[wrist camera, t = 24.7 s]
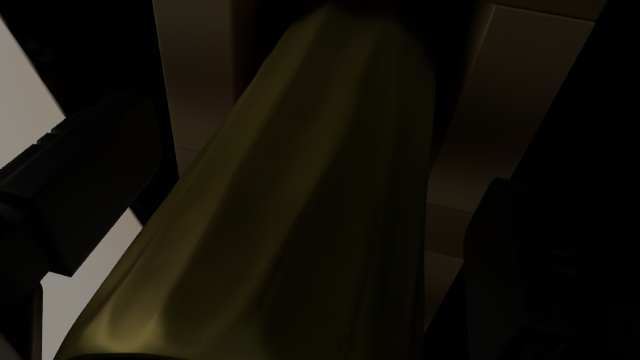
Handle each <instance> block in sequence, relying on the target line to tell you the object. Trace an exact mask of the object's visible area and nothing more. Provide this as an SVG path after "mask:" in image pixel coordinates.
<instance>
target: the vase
mask: <svg viewBox="0 0 640 360" xmlns="http://www.w3.org/2000/svg"><path fill="white" fill-rule="evenodd" d="M441 55H442V33H441V27H440V22H439V19H438V16H437V13H436V11H435V9H434V7H433V5H432V3H431V2H430V0H297V2H296V3H295V5H294V7H293V9H292V10H291V13H290V16H289V19H288V21H287V23H286V25H285V27H284V29H283V31H282V32H281V34H280V36H279V37H278V39H277V40H276V42H275V43H274V45H273V47H272V48H271V50H270V51H269V53H268V55H267V56H266V58H265V60H264V62H263V63H262V65H261V67H260V69H259V71H258V72H257V74H256V76H255V77H254V79H253V81H252V82H251V83H250V85H249V86H248V87H247V89H246V90H245V91H244V93H243V94H242V96H241V97H240V98H239V100H238V101H237V102H236V104H235V105H234V106H233V108H232V109H231V111H230V112H229V113H228V115H227V116H226V118H225V119H224V120H223V122H222V123H221V125H220V126H219V127H218V129H217V130H216V131H215V133H214V134H213V135H212V136H211V138H210V139H209V140H208V141H207V143H206V144H205V145H204V147H203V148H202V149H201V151H200V152H199V154H198V155H197V156H196V158H195V159H194V160H193V162H192V163H191V164H190V166H189V167H188V169H187V170H186V171H185V173H184V174H183V175H182V177H181V178H180V179H179V181H178V182H177V183H176V185H175V186H174V187H173V189H172V190H171V192H170V193H169V194H168V196H167V197H166V198H165V200H164V201H163V202H162V204H161V205H160V206H159V208H158V209H157V210H156V212H155V213H154V214H153V215H152V217H151V218H150V219H149V221H148V222H147V223H146V225H145V226H144V227H143V228H142V230H141V231H140V232H139V234H138V235H137V236H136V238H135V239H134V240H133V242H132V243H131V244H130V246H129V247H128V248H127V250H126V251H125V253H124V254H123V255H122V257H121V258H120V260H119V261H118V262H117V264H116V265H115V267H114V268H113V269H112V271H111V272H110V273H109V275H108V276H107V278H106V279H105V280H104V282H103V283H102V284H101V286H100V287H99V289H98V290H97V291H96V293H95V294H94V296H93V297H92V298H91V300H90V301H89V303H88V304H87V305H86V307H85V308H84V309H83V311H82V312H81V313H80V315H79V316H78V318H77V319H76V321H75V322H74V324H73V325H72V327H71V329H70V330H69V332H68V333H67V335H66V337H65V338H64V340H63V342H62V344H61V346H60V348H59V350H58V351H57V353H56V355H55V357H54V359H53V360H422V352H423V340H424V315H425V280H424V239H425V217H426V203H427V190H428V176H429V163H430V152H431V142H432V132H433V122H434V112H435V102H436V82H437V68H438V66H439V63H440V59H441Z"/></svg>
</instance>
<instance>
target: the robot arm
mask: <svg viewBox="0 0 640 360" xmlns="http://www.w3.org/2000/svg"><path fill="white" fill-rule="evenodd" d="M161 158H162V148H161V143H160V137H159V132H158V126H157V121H156V115H155V110H154V105H153V103H152V101H151V100H150V99H149V98H146V97H142V96H138V95H133V94H129V93H124V92H120V91H114V92H112V93H111V94H109V95H108V96H107V97H106V98H104V99H103V100H102V101H101V102H99V103H98V104H97V105H96V106H94V107H89V108H87V109H85V110H82V111H80V112H77V113H75V114H73V115H70V116H68V117H67V118H65V119H64V120H63V121H62V122H60V123H59V124H58V125H57V126H55V127H54V128H53V129H51V133H46V134H45V135H44V136H43V137H41V138H40V139H39V140H37V144H32V145H31V146H30V147H28V148H27V149H26V150H24V151H23V152H22V153H21V154H19V155H18V156H17V157H16V158H14V159H13V160H12V161H11V162H9V163H8V164H7V165H5V166H4V167H3V168H2V169H0V360H42V315H43V287H42V285H41V283H40V281H41V280H42V279H43V277H44V276H45V275H46V274H47V273H48V272H53V273H57V274H60V275H64V276H68V277H72V276H73V274H74V273H75V272H76V271H77V270H78V268H79V267H80V266H81V265H82V263H83V262H84V261H85V260H86V258H87V257H88V256H89V254H91V252H92V251H93V250H94V249H95V247H96V246H97V245H98V244H99V243H100V241H101V240H102V239H103V238H104V236H105V235H106V234H107V233H108V232H109V230H110V229H111V228H112V227H113V225H114V224H115V223H116V222H117V221H118V219H119V218H120V217H121V216H122V214H123V213H124V212H125V211H126V210H127V208H128V207H129V206H130V205H131V203H132V202H133V201H134V200H135V199H136V197H137V196H138V195H139V194H140V192H141V191H142V190H143V189H144V187H145V186H146V185H147V184H148V183H149V181H150V180H151V179H152V178H153V176H154V175H155V174H156V172H157V171H158V168H159V166H160V163H161ZM463 256H464V273H465V290H466V307H467V324H468V342H469V359H470V360H618V359H617V358H616V357H615V356H613V355H612V354H610V353H609V352H607V351H605V350H604V347H603V344H602V341H601V338H600V335H599V332H598V329H597V325H596V322H595V319H594V316H593V313H592V310H591V306H590V303H589V300H588V297H587V294H586V291H585V287H584V284H583V281H582V278H581V277H579V273H580V272H579V269H578V265H577V262H576V259H573V257H574V253H573V250H572V246H571V243H570V240H569V237H568V234H567V233H566V231H565V230H564V229H563V227H562V226H561V225H560V224H559V222H558V221H557V220H556V218H555V217H554V216H553V215H552V214H551V213H547V212H542V211H540V207H539V203H538V200H537V196H536V192H535V189H534V187H533V186H532V185H529V184H525V183H520V182H516V181H511V180H507V179H502V178H498V177H496V178H494V179H493V180H492V181H491V183H490V184H489V186H488V188H487V190H486V192H485V194H484V196H483V198H482V199H481V201H480V203H479V205H478V207H477V209H476V211H475V213H474V214H473V216H472V218H471V220H470V222H469V224H468V226H467V229H466V233H465V237H464V243H463Z"/></svg>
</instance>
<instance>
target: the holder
mask: <svg viewBox="0 0 640 360" xmlns="http://www.w3.org/2000/svg"><path fill="white" fill-rule="evenodd" d="M152 1H153V8H154V14H155V21H156V27H157V34H158V40H159V47H160V53H161V59H162V66H163V72H164V79H165V85H166V92H167V98H168V105H169V111H170V118H171V124H172V131H173V137H174V144H175V146H176V147H175V151H176V158H177V164H178V171H179V177H180V178H181V177H182V175H183V174H184V173H185V171H186V170H187V169H188V167H189V166H190V164H191V163H192V162H193V160H194V159H195V158H196V156H197V155H198V154H199V152H200V151H201V149H202V148H203V147H204V145H205V144H206V143H207V141H208V140H209V139H210V138H211V136H212V135H213V134H214V133H215V131H216V130H217V129H218V127H219V126H220V125H221V123H222V122H223V120H224V119H225V118H226V116H227V115H228V113H229V112H230V111H231V109H232V108H233V106H234V105H235V104H236V102H237V101H238V100H239V98H240V97H241V96H242V94H243V93H244V91H245V90H246V89H247V87H248V86H249V85H250V83H251V82H252V81H253V79H254V77H255V76H256V74H257V72H258V71H259V69H260V67H261V65H262V63H263V62H264V60H265V58H266V56H267V55H268V53H269V51H270V50H271V48H272V47H273V26H274V0H152ZM607 1H608V0H468V1H467V4H466V7H465V9H464V12H463V15H462V18H461V21H460V24H459V27H458V30H457V33H456V36H455V39H454V42H453V45H452V48H451V51H450V54H449V57H448V60H447V63H446V66H445V69H444V72H443V75H442V78H441V81H440V84H439V87H438V90H437V93H436V102H435V112H434V122H433V132H432V142H431V152H430V163H429V176H428V190H427V203H426V217H425V239H424V280H425V315H424V333H425V331H426V329H427V328H428V326H429V324H430V322H431V320H432V319H433V317H434V315H435V313H436V311H437V310H438V308H439V306H440V304H441V302H442V300H443V299H444V297H445V295H446V293H447V291H448V290H449V288H450V286H451V284H452V282H453V281H454V279H455V277H456V275H457V273H458V272H459V270H460V268H461V266H462V264H463V262H464V256H463V243H464V237H465V233H466V229H467V226H468V224H469V222H470V220H471V218H472V216H473V214H474V213H475V211H476V209H477V207H478V205H479V203H480V201H481V199H482V198H483V196H484V194H485V192H486V190H487V188H488V186H489V184H490V183H491V181H492V180H493V179H494V178H496V177H498V178H502V179H507V180H509V179H510V178H511V176H512V174H513V172H514V170H515V169H516V167H517V165H518V163H519V161H520V160H521V158H522V156H523V154H524V152H525V151H526V149H527V147H528V145H529V143H530V141H531V140H532V138H533V136H534V134H535V132H536V131H537V129H538V127H539V125H540V123H541V122H542V120H543V118H544V116H545V114H546V113H547V111H548V109H549V107H550V105H551V103H552V102H553V100H554V98H555V96H556V94H557V93H558V91H559V89H560V87H561V85H562V84H563V82H564V80H565V78H566V76H567V75H568V73H569V71H570V69H571V67H572V65H573V64H574V62H575V60H576V58H577V56H578V55H579V53H580V51H581V49H582V47H583V46H584V44H585V42H586V40H587V38H588V37H589V35H590V33H591V31H592V29H593V27H594V26H595V22H594V21H595V20H597V19H598V17H599V16H600V14H601V12H602V10H603V8H604V6H605V5H606V3H607Z"/></svg>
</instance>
